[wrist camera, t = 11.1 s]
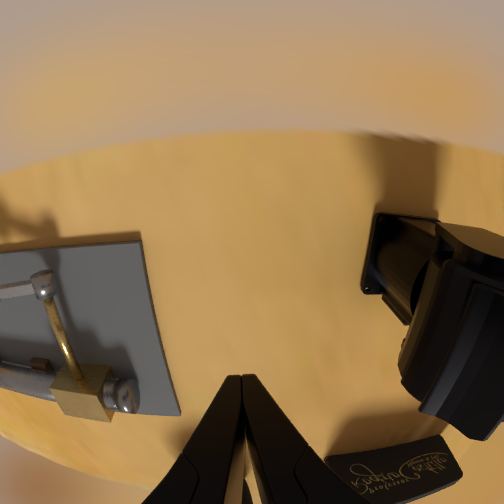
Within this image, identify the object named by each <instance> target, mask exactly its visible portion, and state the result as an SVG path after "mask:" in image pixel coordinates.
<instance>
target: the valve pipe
mask: <svg viewBox="0 0 504 504" xmlns="http://www.w3.org/2000/svg"><path fill="white" fill-rule="evenodd" d="M43 303H44V306H45V309H46V312H47V315H48V318H49V320H50V323H51V326H52V328H53V331H54V334H55V336H56V339H57V341H58V344H59V346H60V348H61V351H62V353H63V355H64V358H65V360H66V361H65V363H64V364H63V366H62V367H61V369H60V371H59V372H58V373H56V372H55V370H54V368H53V366H52V364H51V362H50V360H49V359H45V358H38V357H32V359H31V360H30V361H29V364H30V366H31V368H27V367H22V366H17V365H12V364H8V363H4V362H2V360H1V359H0V386H3V387H6V388H9V389H13V390H16V391H20V392H24V393H27V394H31V395H35V396H40V397H44V398H48V399H53V400H56V401H57V403H58V405H59V406H60V408H61V409H62V411H63V413H64V414H65V415H69V416H74V417H79V418H85V419H90V420H96V421H103V422H109V423H111V421H112V418H113V415H114V412H115V410H119V411H120V412H121V413H130V414H136V413H137V412H138V410H139V406H140V390H139V386H138V383H137V381H136V380H135V379H127V378H120V379H118V380H116V379H115V376H114V374H113V371H112V369H111V366H108V365H96V364H85V363H78V361H77V359H76V357H75V354H74V352H73V349H72V347H71V345H70V342H69V339H68V337H67V334H66V332H65V329H64V326H63V324H62V321H61V318H60V315H59V312H58V309H57V306H56V303H55V300H54V297H51V298H49V299H45V300H43Z"/></svg>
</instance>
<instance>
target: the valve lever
mask: <svg viewBox="0 0 504 504" xmlns="http://www.w3.org/2000/svg"><path fill="white" fill-rule="evenodd" d="M57 293H58V288H57V285H56V281H55V278H54V274H53V271H52V270H50V269H47V270H42V271H39V272H36V273H34V274H33V275H32V276H31V277H30V280H25V281H19V282H14V283H8V284H3V285H0V301H1V299H5V298H11V297H17V296H23V295H29V294H35V296H36V299H38V300H45V299H49V298H51V297H53V296H55V295H56V294H57Z"/></svg>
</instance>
